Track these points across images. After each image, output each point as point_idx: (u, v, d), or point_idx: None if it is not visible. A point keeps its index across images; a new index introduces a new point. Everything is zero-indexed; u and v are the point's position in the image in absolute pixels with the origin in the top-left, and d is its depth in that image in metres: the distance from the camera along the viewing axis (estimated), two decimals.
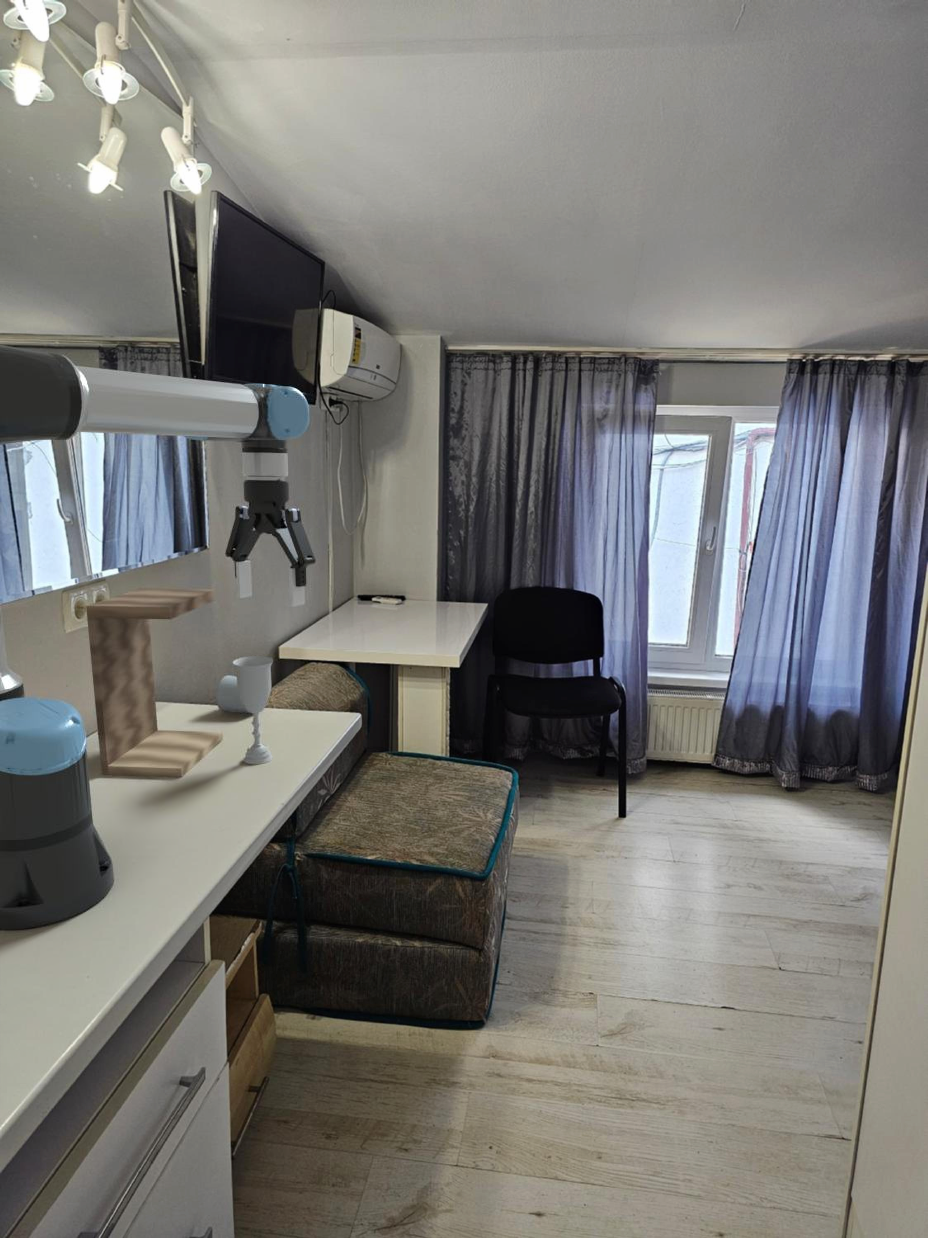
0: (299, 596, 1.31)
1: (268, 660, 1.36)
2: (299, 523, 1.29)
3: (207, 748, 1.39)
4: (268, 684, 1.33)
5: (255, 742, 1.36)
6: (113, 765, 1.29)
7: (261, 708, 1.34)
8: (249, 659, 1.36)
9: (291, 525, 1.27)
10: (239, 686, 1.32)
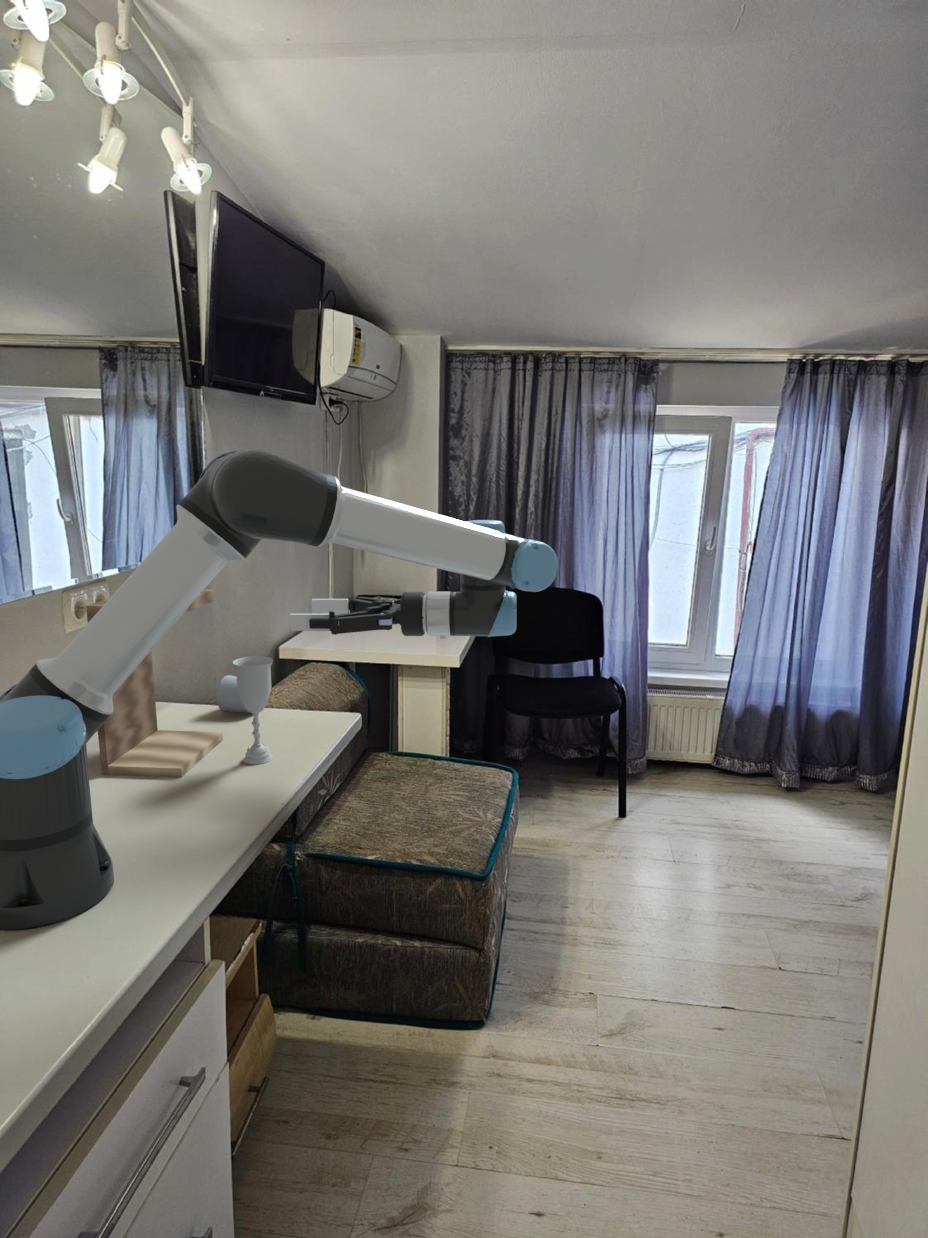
0: (299, 623, 1.24)
1: (268, 660, 1.36)
2: (375, 626, 1.23)
3: (207, 748, 1.39)
4: (268, 684, 1.33)
5: (255, 742, 1.36)
6: (113, 765, 1.29)
7: (261, 708, 1.34)
8: (249, 659, 1.36)
9: (373, 615, 1.23)
10: (239, 686, 1.32)
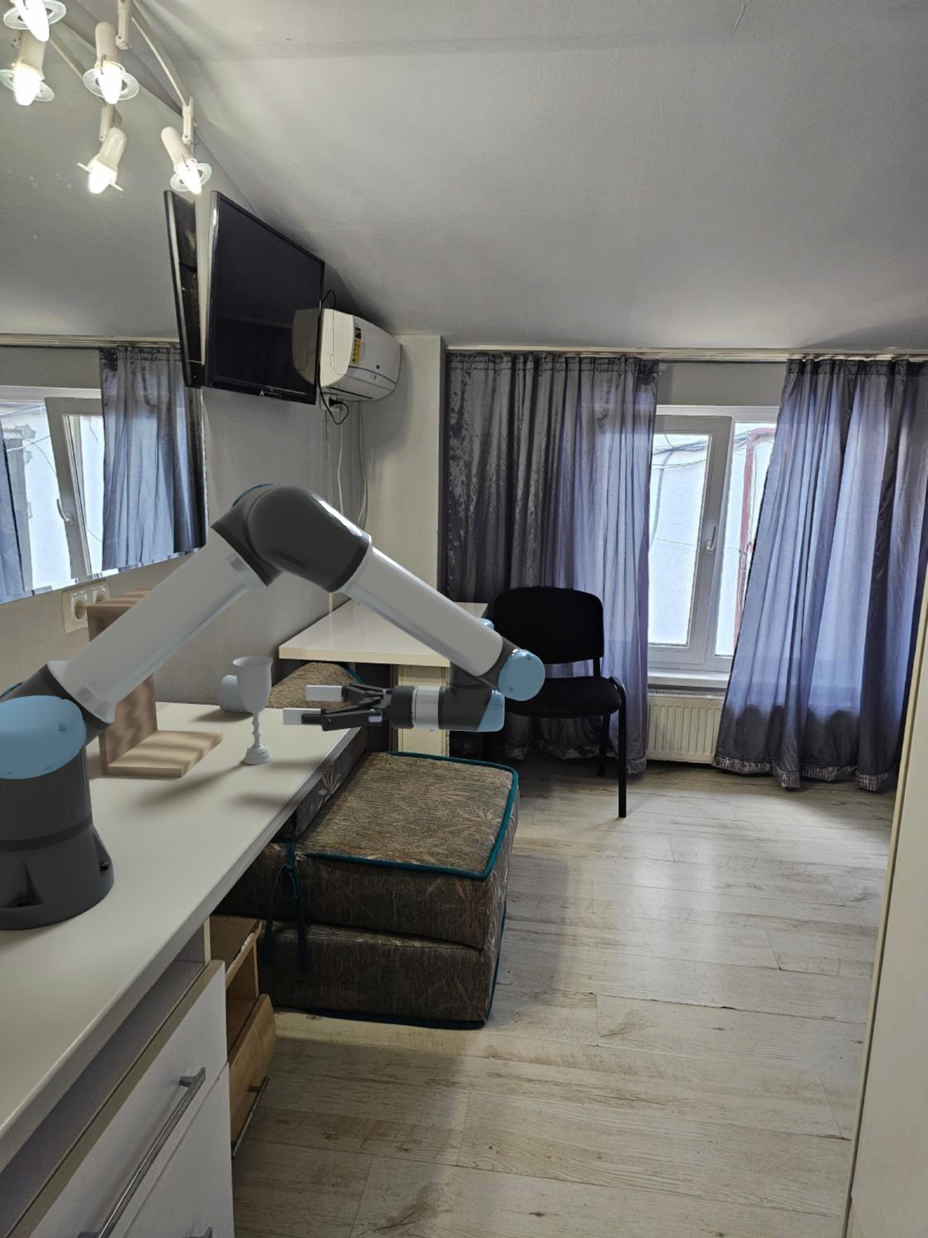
0: (292, 718, 1.27)
1: (268, 660, 1.36)
2: (365, 723, 1.26)
3: (207, 748, 1.39)
4: (268, 684, 1.33)
5: (255, 742, 1.36)
6: (113, 765, 1.29)
7: (261, 708, 1.34)
8: (249, 659, 1.36)
9: (364, 712, 1.26)
10: (239, 686, 1.32)
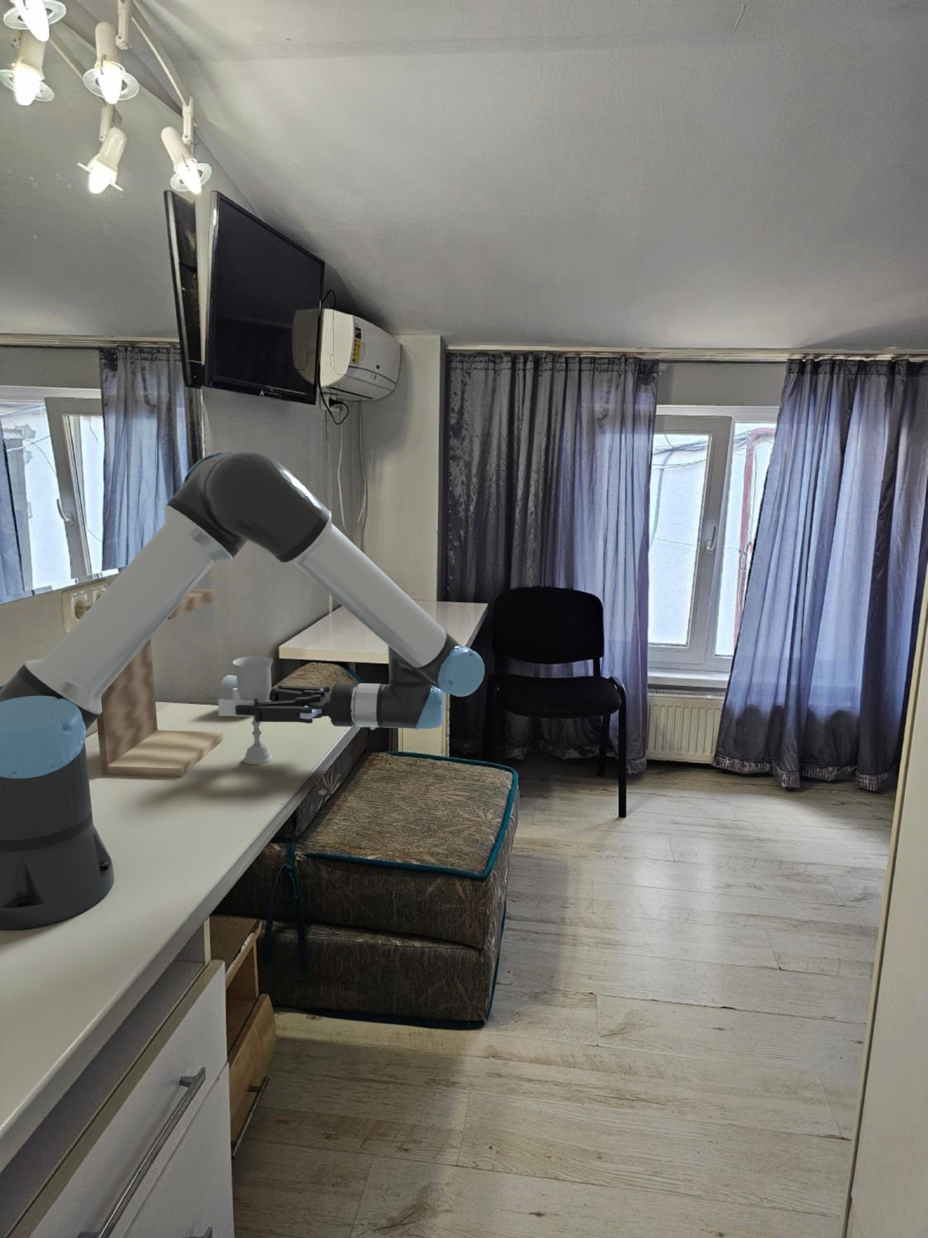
0: (227, 709, 1.31)
1: (268, 660, 1.36)
2: (296, 718, 1.28)
3: (207, 748, 1.39)
4: (268, 684, 1.33)
5: (255, 742, 1.36)
6: (113, 765, 1.29)
7: None
8: (249, 659, 1.36)
9: (294, 708, 1.28)
10: (239, 686, 1.32)
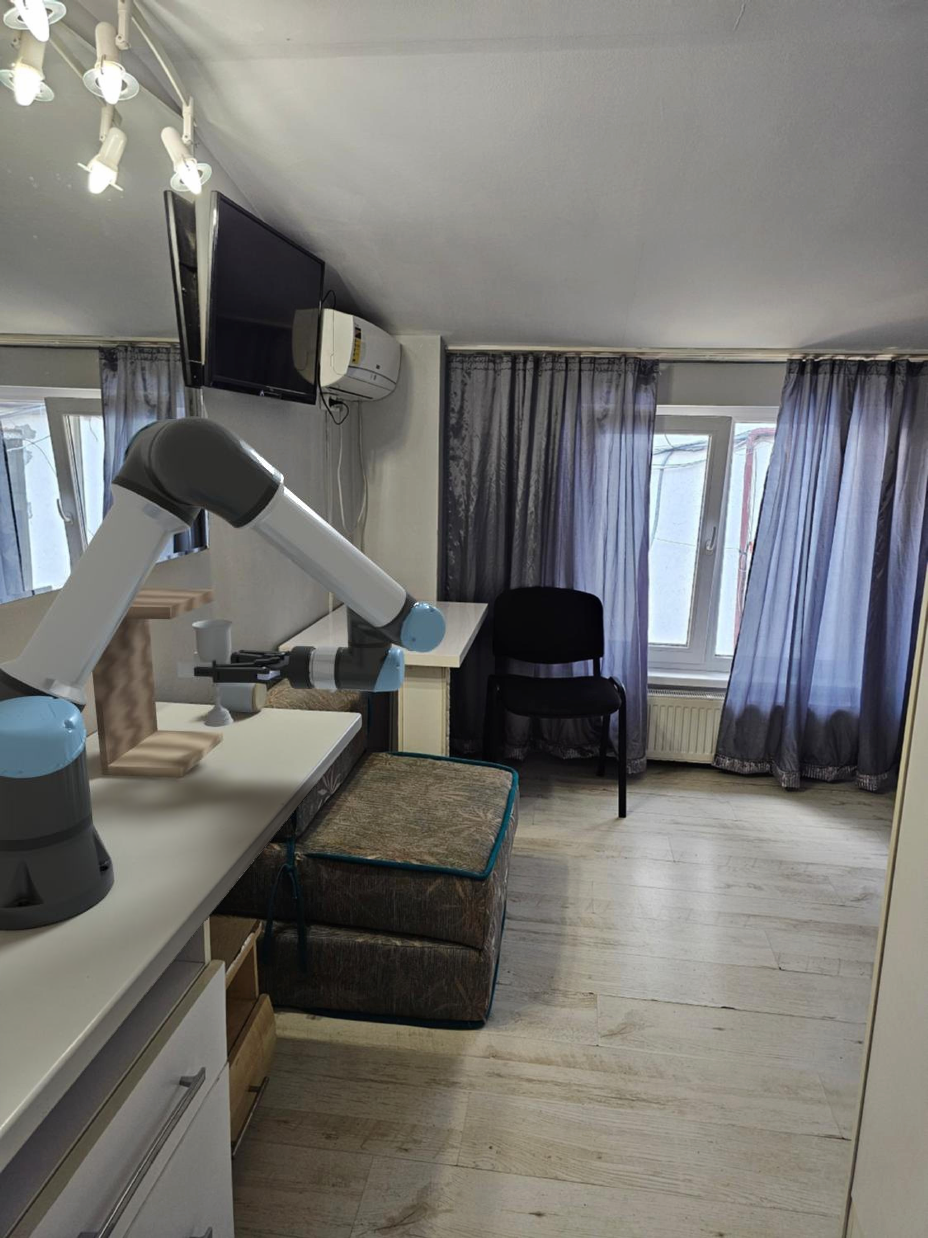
0: (185, 671, 1.31)
1: (228, 624, 1.36)
2: (253, 679, 1.28)
3: (207, 748, 1.39)
4: (227, 646, 1.33)
5: (215, 705, 1.36)
6: (113, 765, 1.29)
7: None
8: (210, 622, 1.36)
9: (252, 669, 1.28)
10: (198, 648, 1.32)
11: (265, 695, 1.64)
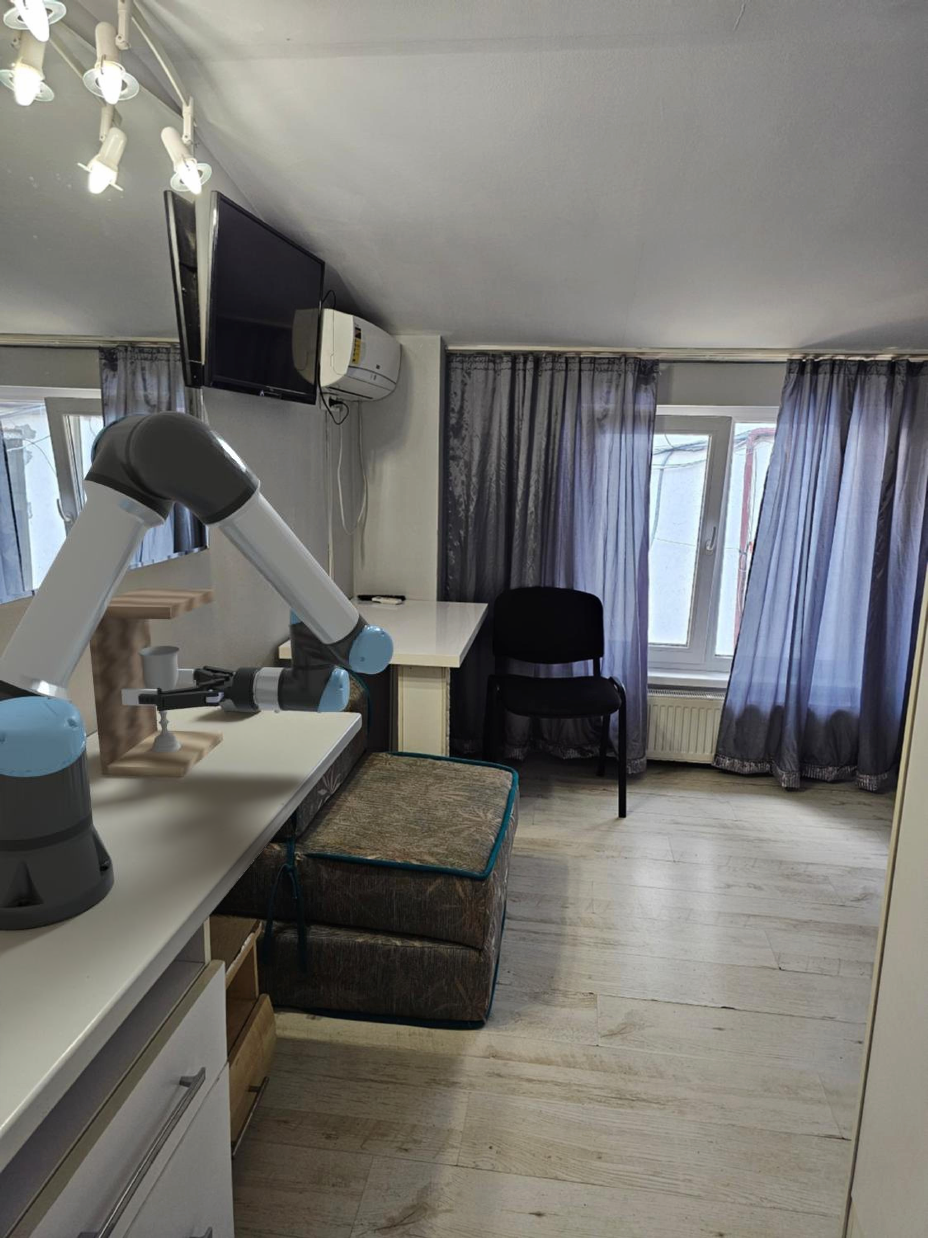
0: (130, 698, 1.29)
1: (175, 650, 1.36)
2: (202, 703, 1.28)
3: (207, 748, 1.39)
4: (173, 673, 1.34)
5: (162, 731, 1.37)
6: (113, 765, 1.29)
7: None
8: (157, 648, 1.37)
9: (200, 693, 1.27)
10: (144, 675, 1.33)
11: None
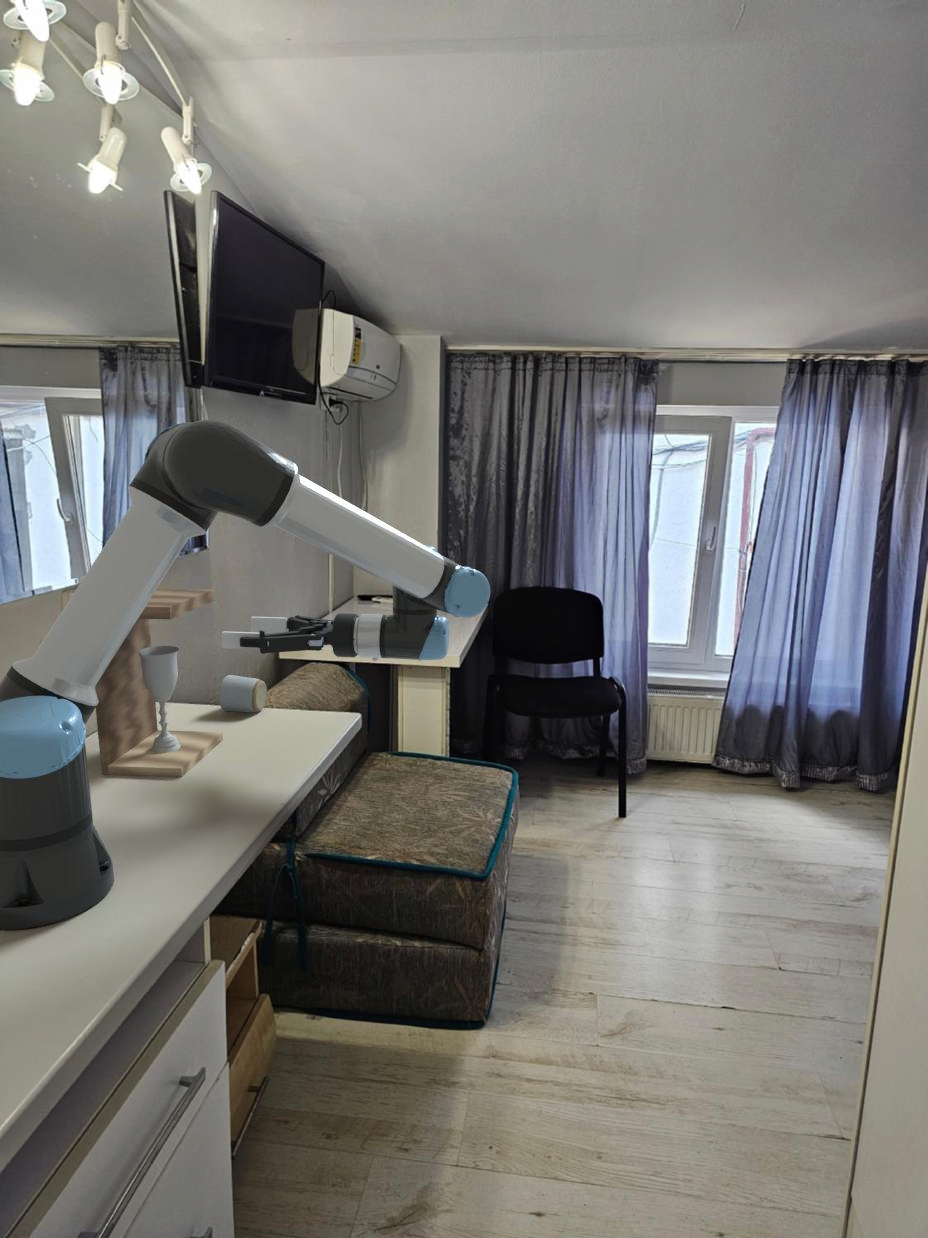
0: (231, 641, 1.26)
1: (175, 650, 1.37)
2: (305, 647, 1.25)
3: (207, 748, 1.39)
4: (173, 673, 1.34)
5: (162, 731, 1.37)
6: (113, 765, 1.29)
7: (167, 697, 1.35)
8: (157, 648, 1.37)
9: (303, 636, 1.25)
10: (144, 675, 1.33)
11: (265, 695, 1.64)
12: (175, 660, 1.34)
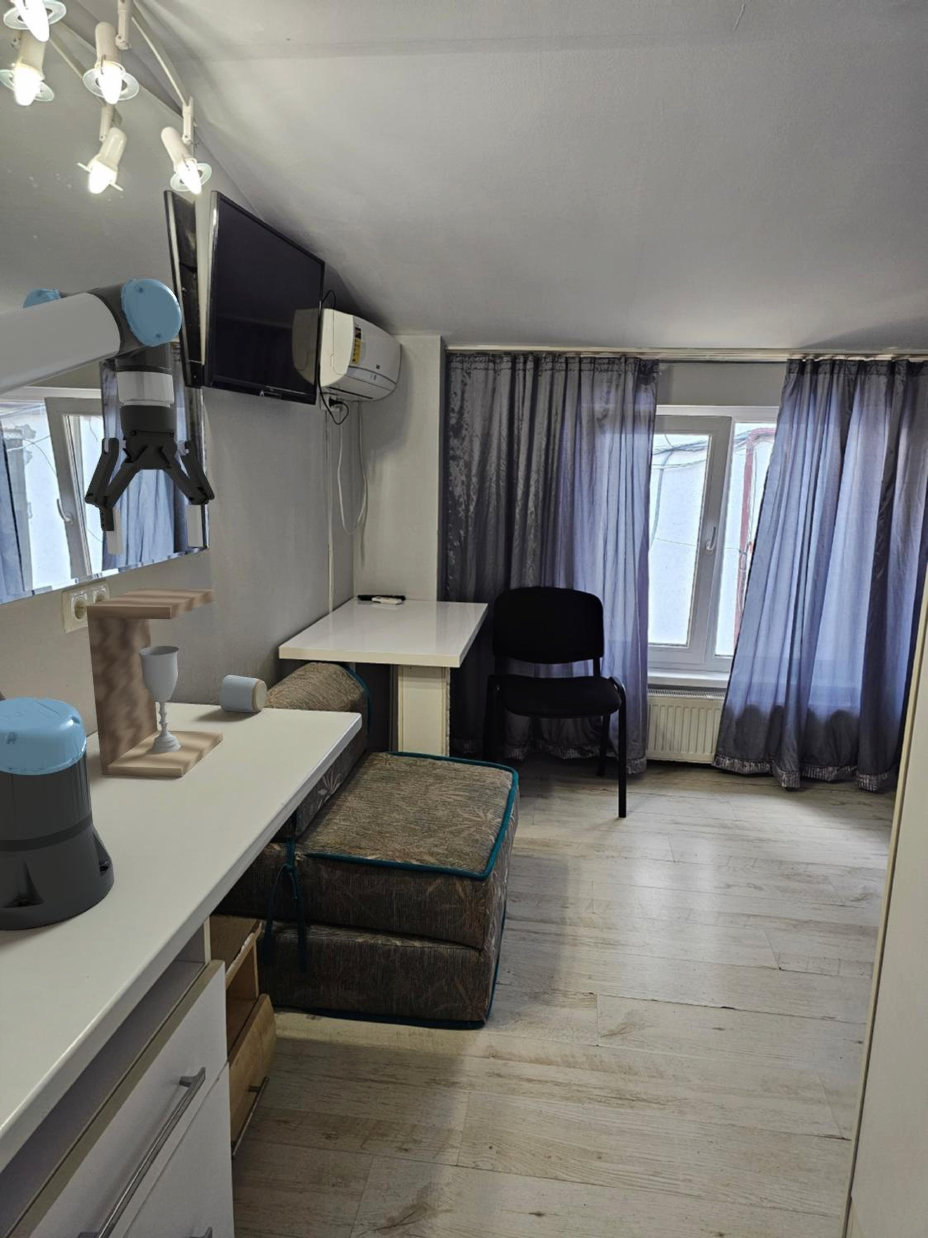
0: None
1: (175, 650, 1.37)
2: None
3: (207, 748, 1.39)
4: (173, 673, 1.34)
5: (162, 731, 1.37)
6: (113, 765, 1.29)
7: (167, 697, 1.35)
8: (156, 648, 1.37)
9: (196, 458, 1.19)
10: (144, 675, 1.33)
11: (265, 695, 1.64)
12: (175, 660, 1.34)
